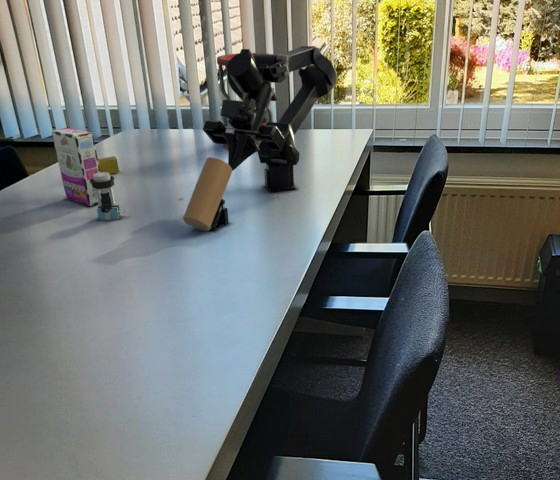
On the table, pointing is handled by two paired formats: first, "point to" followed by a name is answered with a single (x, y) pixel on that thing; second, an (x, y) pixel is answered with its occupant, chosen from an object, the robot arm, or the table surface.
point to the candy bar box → (77, 163)
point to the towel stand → (220, 217)
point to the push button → (105, 196)
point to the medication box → (108, 165)
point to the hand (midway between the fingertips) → (230, 169)
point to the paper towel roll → (207, 194)
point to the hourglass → (223, 62)
